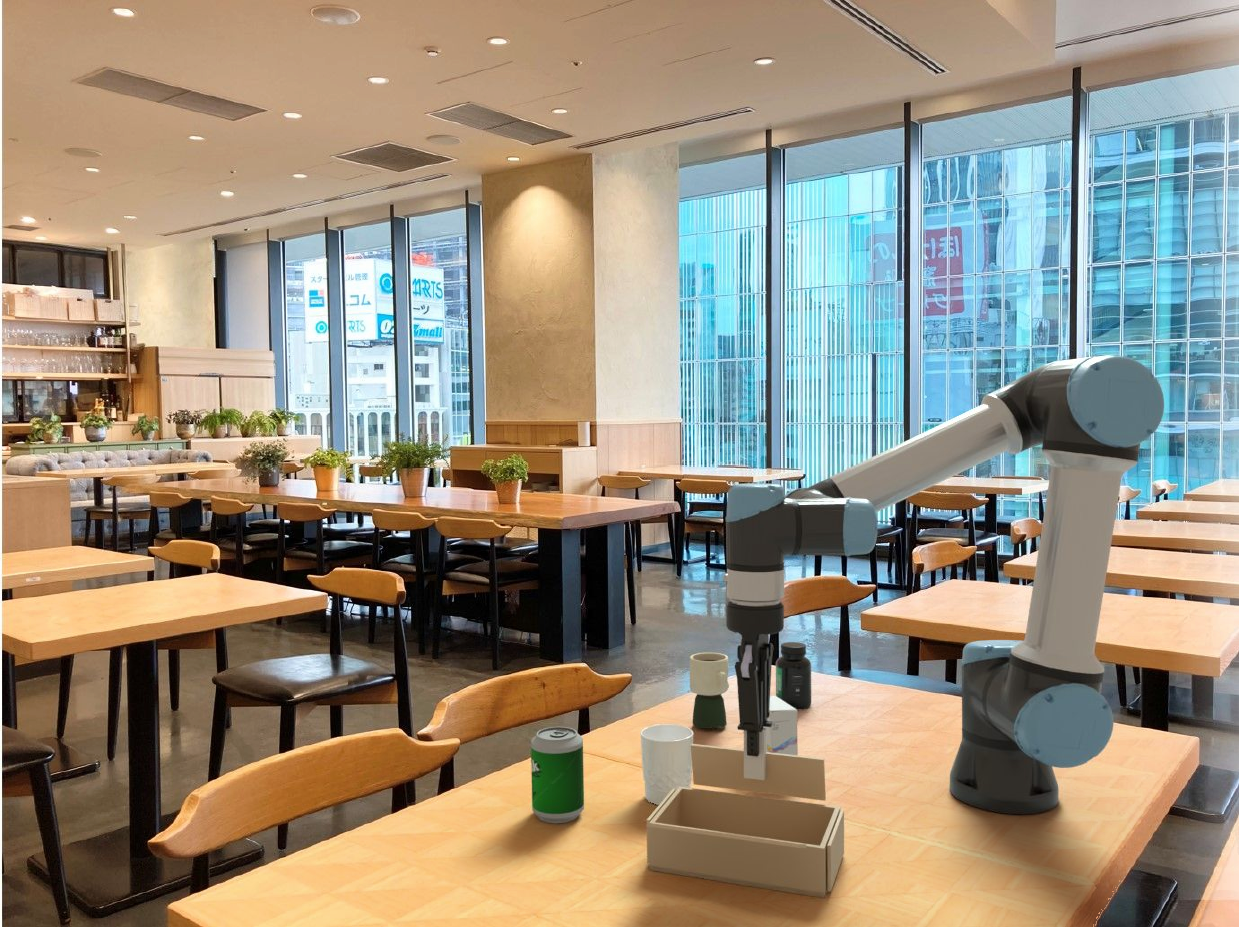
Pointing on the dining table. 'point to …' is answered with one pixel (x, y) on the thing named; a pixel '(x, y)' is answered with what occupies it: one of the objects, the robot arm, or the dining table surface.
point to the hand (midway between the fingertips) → (754, 777)
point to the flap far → (781, 772)
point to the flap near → (727, 835)
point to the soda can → (557, 774)
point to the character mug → (709, 688)
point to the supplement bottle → (794, 675)
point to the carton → (744, 858)
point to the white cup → (666, 759)
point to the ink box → (782, 728)
